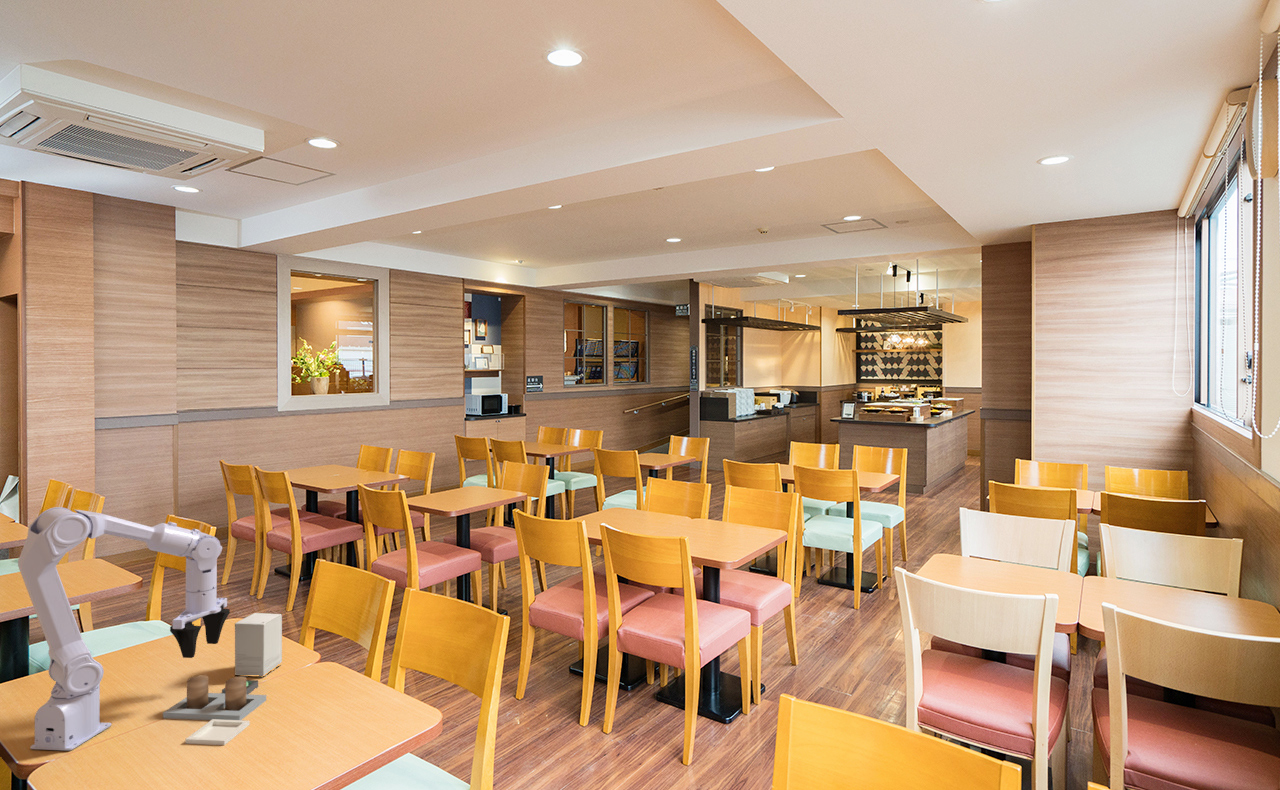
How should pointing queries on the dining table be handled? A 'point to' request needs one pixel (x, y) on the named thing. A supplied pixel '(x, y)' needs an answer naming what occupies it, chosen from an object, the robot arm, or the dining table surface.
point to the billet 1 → (197, 692)
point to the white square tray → (217, 732)
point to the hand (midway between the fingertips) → (200, 650)
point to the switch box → (251, 686)
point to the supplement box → (258, 644)
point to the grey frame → (214, 708)
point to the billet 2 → (235, 693)
